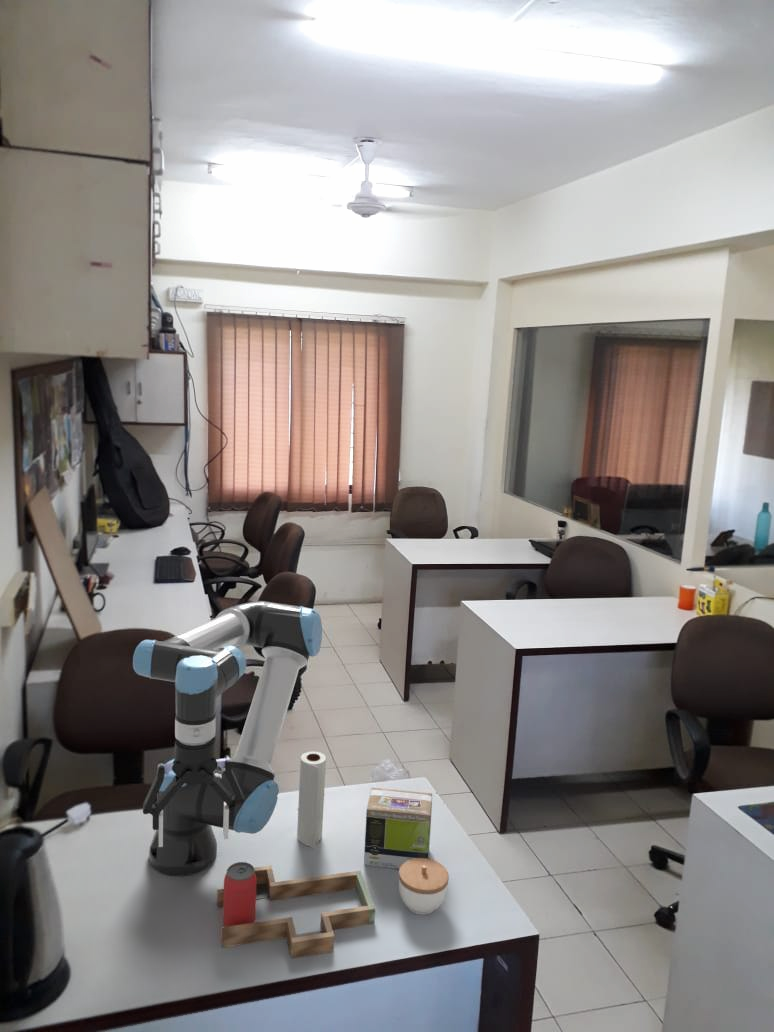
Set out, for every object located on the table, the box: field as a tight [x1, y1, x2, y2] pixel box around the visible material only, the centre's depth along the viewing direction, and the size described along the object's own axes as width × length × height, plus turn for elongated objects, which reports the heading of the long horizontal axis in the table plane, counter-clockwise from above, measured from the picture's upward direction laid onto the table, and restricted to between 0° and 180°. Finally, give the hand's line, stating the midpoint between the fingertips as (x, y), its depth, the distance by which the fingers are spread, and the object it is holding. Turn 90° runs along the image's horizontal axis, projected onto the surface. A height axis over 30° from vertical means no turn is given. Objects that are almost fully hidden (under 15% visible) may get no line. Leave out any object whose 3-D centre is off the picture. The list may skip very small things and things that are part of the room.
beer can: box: [222, 861, 257, 927], centre depth 156 cm, size 7×7×12 cm
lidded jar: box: [398, 858, 450, 916], centre depth 165 cm, size 11×11×9 cm
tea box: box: [363, 787, 433, 870], centre depth 180 cm, size 15×10×15 cm, turn 84°
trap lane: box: [216, 864, 376, 959], centre depth 160 cm, size 31×24×4 cm
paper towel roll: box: [296, 750, 327, 850], centre depth 184 cm, size 7×6×21 cm
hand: (193, 839), depth 150 cm, fingers open, 12 cm apart
